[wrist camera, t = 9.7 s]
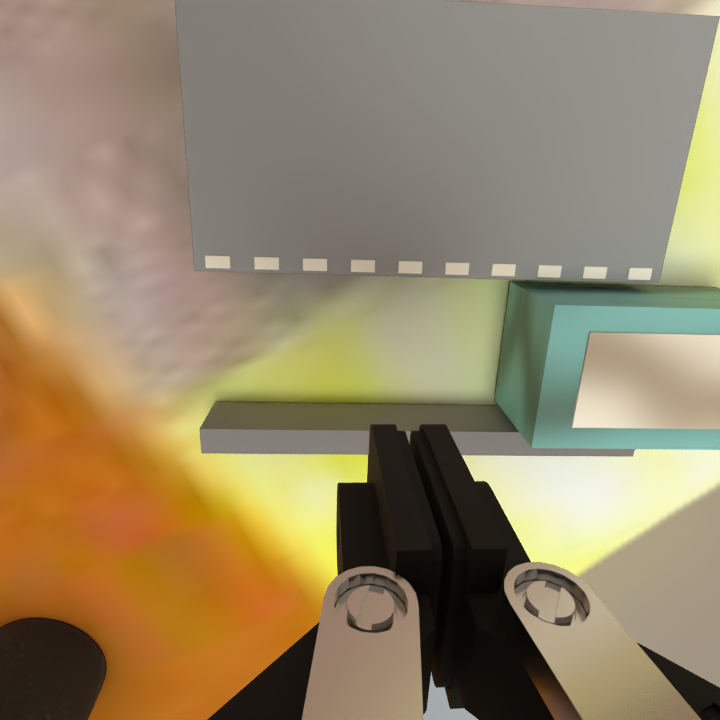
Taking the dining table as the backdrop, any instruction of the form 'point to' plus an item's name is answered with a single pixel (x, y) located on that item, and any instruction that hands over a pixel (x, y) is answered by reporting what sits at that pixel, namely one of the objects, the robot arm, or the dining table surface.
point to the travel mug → (48, 671)
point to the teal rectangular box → (612, 366)
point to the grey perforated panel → (430, 164)
